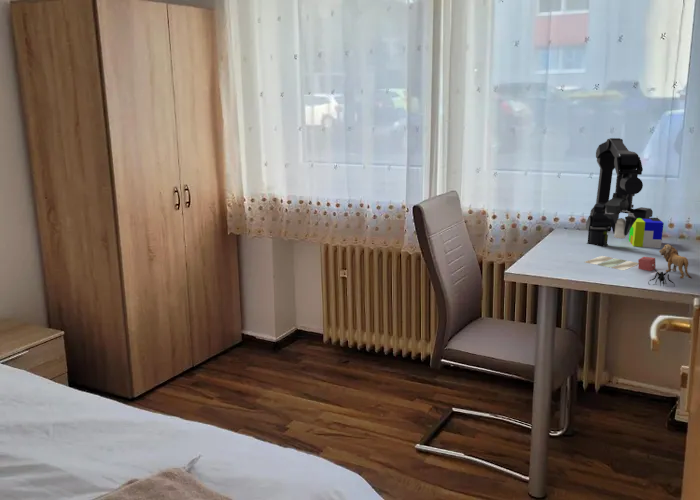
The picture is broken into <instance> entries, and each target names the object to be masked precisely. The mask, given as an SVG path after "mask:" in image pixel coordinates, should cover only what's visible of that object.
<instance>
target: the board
mask: <svg viewBox="0 0 700 500" xmlns="http://www.w3.org/2000/svg"><path fill="white" fill-rule="evenodd" d="M584 263H585V264H586V263H587V264H591V265H597V266H600V267H605V268H611V269H616V270H619V271H626V270H628V269H630V268H633V267H636V266H639V265H638V262H636V261H630V260H627V259H626V260H625V259H621V258H614V257H610V256H605V255H600V256H597V257H594V258H590V259H589V260H586V261H584Z"/></svg>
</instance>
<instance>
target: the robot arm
mask: <svg viewBox="0 0 700 500" xmlns="http://www.w3.org/2000/svg"><path fill="white" fill-rule="evenodd" d="M595 158H596V162H597V164H598V166H599V175H598V184H597V193H596V200H595V204H594V206H593V207H592V208H591V210H590V213H589V215H588V218H587V220H586V222H585V229H586V231H587V232H588V233H587V243H585V244H587V245H590V246H591V245H593V246H597V247H603V248H604V247H607V246H608V245H609V244H608V239H609V235H608V232H611V230H612V233H613V235H614V234H615V223H617V220H618V219H619V217H620V214H627V215H628V216H627V215H626V216H625V217H624V219H625V221H626V224H625V231H624V235H625V237H626V236H628V235H629V234H628V233H630V229H631V227H632V225H633V224H634V222H635V221H636V219H637V218H653V210H652V208H649V207H636V208H634V204H633V197H635V196H636V195H638V194H639V193H640V192H641V191H642V190H643V187H644V184H643V181H642V179H641V178H639V177H638V175H639V176H640V175H642V173H643V164H642V160H641V157H640V156H639V154H638V153H637V152H635V151H630V150H629V148H627V146H626V145H625V143H624V141H623V138H619V137H618V138H617V137H616V138H615V137H614V138H613V137H611V138H610V137H609V138H607V139H606V141H604V142H602V143H600V144H598V146H597V148H596V151H595ZM614 169H615V173H616V182H615V191H614V192H613V194H612V197H611V199H610V195H611V187H612V181H613V171H614Z"/></svg>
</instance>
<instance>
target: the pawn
mask: <svg viewBox="0 0 700 500" xmlns="http://www.w3.org/2000/svg"><path fill="white" fill-rule="evenodd" d="M625 224H626V219H625V218H623V217H620V218H619V219H618V220H617V223H615V234H614V233H613V237H614V238H615V239H622V240H623V239H626V236H625V235H624V231H625Z"/></svg>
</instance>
